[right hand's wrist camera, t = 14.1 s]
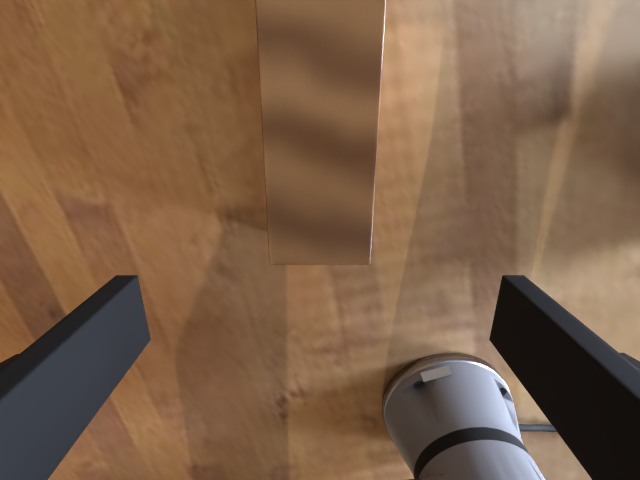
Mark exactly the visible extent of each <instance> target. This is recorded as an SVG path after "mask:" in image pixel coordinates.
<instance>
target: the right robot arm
mask: <svg viewBox="0 0 640 480" xmlns="http://www.w3.org/2000/svg"><path fill="white" fill-rule="evenodd" d="M150 340H151V339H150V334H149V330H148V325H147V320H146V315H145V310H144V305H143V300H142V295H141V290H140V285H139V281H138V276H137V275H116V276H115V277H114V278H112V279H111V280H110V281H109V282H108V283H106V284H105V285H104V286H103V287H101V288H100V289H99V290H98V291H97V292H95V293H94V294H93V295H92V296H90V297H89V298H88V299H87V300H85V301H84V302H83V303H82V304H81V305H79V306H78V307H77V308H76V309H74V310H73V311H72V312H71V313H70V314H68V315H67V316H66V317H65V318H63V319H62V320H61V321H60V322H59V323H57V324H56V325H55V326H54V327H52V328H51V329H50V330H49V331H47V332H46V333H45V334H44V335H43V336H41V337H40V338H39V339H38V340H36V341H35V342H34V343H33V344H32V345H30V346H29V347H28V348H27V349H25V350H24V351H23V352H22V353H21V354H16V355H14V356H12V357H11V358H9V359H7V360H5V361H3V362H1V363H0V480H48V478H49V477H50V476H51V474H52V473H53V472H54V470H55V469H56V467H57V466H58V465H59V463H60V462H61V461H62V459H63V458H64V457H65V455H66V454H67V453H68V451H69V450H70V448H71V447H72V446H73V444H74V443H75V442H76V440H77V439H78V438H79V436H80V435H81V433H82V432H83V431H84V429H85V428H86V427H87V425H88V424H89V423H90V421H91V420H92V419H93V417H94V416H95V414H96V413H97V412H98V410H99V409H100V408H101V406H102V405H103V404H104V402H105V401H106V399H107V398H108V397H109V395H110V394H111V393H112V391H113V390H114V389H115V387H116V386H117V385H118V383H119V382H120V380H121V379H122V378H123V376H124V375H125V374H126V372H127V371H128V370H129V368H130V367H131V366H132V364H133V363H134V361H135V360H136V359H137V357H138V356H139V355H140V353H141V352H142V351H143V349H144V348H145V346H146V345H147V344H148V342H149V341H150ZM489 340H490V341H491V342H492V344H493V345H494V346H495V348H496V349H497V351H498V352H499V353H500V355H501V356H502V357H503V359H504V360H505V361H506V363H507V364H508V366H509V367H510V368H511V370H512V371H513V372H514V374H515V375H516V376H517V378H518V379H519V380H520V382H521V383H522V385H523V386H524V387H525V389H526V390H527V391H528V393H529V394H530V395H531V397H532V398H533V399H534V401H535V402H536V404H537V405H538V406H539V408H540V409H541V410H542V412H543V413H544V414H545V416H546V417H547V419H548V420H549V421H550V423H551V424H552V425H524V424H518V421H517V417H516V412H515V408H514V403H513V399H512V396H511V394H510V391H509V389H508V387H507V385H506V383H505V382H504V380H503V379H502V378H501V376H500V375H499V373H498V372H497V371H496V370H495V369H494V368H493V367H492V366H491V365H490V364H488V363H487V362H485V361H483V360H481V359H479V358H477V357H474V356H470V355H466V354H459V353H445V354H437V355H432V356H429V357H425V358H423V359H420V360H418V361H416V362H414V363H412V364H410V365H408V366H407V367H405V368H404V369H403V370H401V371H400V372H399V373H398V374H397V375H396V376H395V377H394V378H393V379H392V381H391V382H390V383H389V385H388V387H387V389H386V391H385V393H384V396H383V401H382V412H383V417H384V422H385V426H386V429H387V431H388V433H389V435H390V437H391V439H392V441H393V442H394V444H395V445H396V447H397V449H398V450H399V452H400V454H401V455H402V457H403V459H404V460H405V462H406V463H407V465H408V467H409V468H410V470H411V471H412V473H413V476H414V479H410V480H545V479H544V477H543V475H542V474H541V472H540V470H539V469H538V467H537V465H536V464H535V462H534V461H533V459H532V458H531V456H530V454H529V453H528V451H527V449H526V448H525V446H524V444H523V442H522V439H521V434H520V431H548V432H558V433H559V435H560V436H561V438H562V439H563V440H564V442H565V443H566V444H567V446H568V447H569V448H570V450H571V451H572V453H573V454H574V455H575V457H576V458H577V459H578V461H579V462H580V463H581V465H582V466H583V467H584V469H585V470H586V472H587V473H588V474H589V476H590V477H591V478H592V480H640V361H638V360H636V359H634V358H632V357H630V356H628V355H627V354H625V353H618V352H617V351H616V350H615V349H613V348H612V347H611V346H610V345H608V344H607V343H606V342H605V341H604V340H602V339H601V338H600V337H599V336H597V335H596V334H595V333H594V332H593V331H591V330H590V329H589V328H588V327H586V326H585V325H584V324H583V323H581V322H580V321H579V320H578V319H577V318H575V317H574V316H573V315H572V314H570V313H569V312H568V311H567V310H566V309H564V308H563V307H562V306H561V305H559V304H558V303H557V302H556V301H555V300H553V299H552V298H551V297H550V296H548V295H547V294H546V293H545V292H543V291H542V290H541V289H540V288H539V287H537V286H536V285H535V284H534V283H532V282H531V281H530V280H529V279H528V278H526V277H525V276H524V275H503V276H502V281H501V285H500V290H499V295H498V300H497V305H496V310H495V315H494V320H493V325H492V329H491V334H490V339H489Z"/></svg>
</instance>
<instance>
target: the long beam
mask: <svg viewBox="0 0 640 480" xmlns="http://www.w3.org/2000/svg"><path fill="white" fill-rule="evenodd" d="M255 3H256V22H257V41H258V59H259V78H260V96H261V115H262V133H263V152H264V170H265V189H266V207H267V226H268V244H269V263H270V265H370V260H371V243H372V227H373V210H374V193H375V176H376V160H377V143H378V126H379V110H380V93H381V76H382V60H383V43H384V26H385V9H386V0H255Z"/></svg>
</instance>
